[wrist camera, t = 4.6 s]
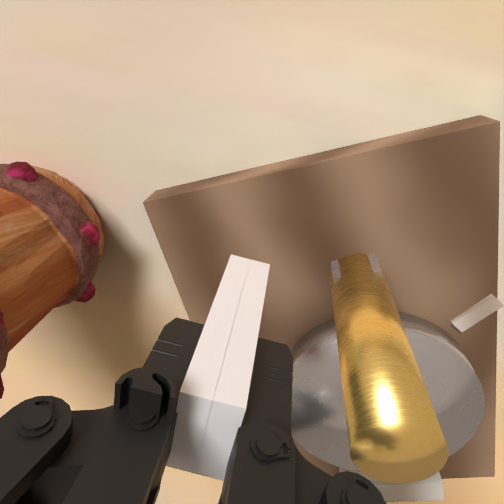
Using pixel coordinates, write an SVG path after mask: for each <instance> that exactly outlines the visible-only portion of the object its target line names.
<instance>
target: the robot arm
mask: <svg viewBox="0 0 504 504" xmlns="http://www.w3.org/2000/svg"><path fill="white" fill-rule="evenodd" d="M269 268H270V264H267V263H263V262H259V261H255V260H251V259H247V258H243V257H239V256H236V255H232V254H231V256H230V258H229V261H228V264H227V266H226V269H225V272H224V274H223V277H222V280H221V282H220V285H219V288H218V290H217V293H216V296H215V298H214V301H213V304H212V307H211V309H210V312H209V315H208V317H207V320H206V323H205V325H204V324H200V323H196V322H192V321H188V320H184V319H180V318H175V319H174V320H172V321H171V322H170V323H168V324H167V325H165V326H164V328H163V330H162V332H161V334H160V336H159V337H158V340H157V341H156V343H155V345H154V347H153V349H152V351H151V353H150V355H149V357H148V359H147V360H146V362H145V364H144V366H143V368H137V369H133V370H131V371H129V372H127V373H125V374H123V375H122V376H121V377H120V378H119V380H118V381H117V382H116V383H115V397H114V405H113V406H110V407H107V408H104V409H97V410H80V411H71V409H70V406H69V405H68V404H67V403H66V402H65V401H64V400H62V399H60V398H57V397H53V396H37V397H34V398H31V399H28V400H24V401H23V402H21V403H20V404H18V405H16V406H15V407H13V408H12V409H11V410H9V411H8V412H7V413H6V414H5V415H3V416H2V417H1V418H0V504H155V502H156V499H157V496H158V493H159V490H160V484H161V478H162V475H163V472H164V469H165V466H168V467H172V468H176V469H180V470H184V471H188V472H192V473H196V474H199V475H203V476H207V477H211V478H215V479H219V480H223V481H224V483H223V488H222V493H221V496H220V500H219V503H218V504H386V502H385V500H384V498H383V496H382V494H381V493H380V491H379V490H378V489H377V488H376V487H375V485H374V484H373V483H372V482H371V481H370V480H368V479H367V478H365V477H363V476H362V475H360V474H358V473H354V472H349V471H345V472H340V473H336V474H335V475H334V476H333V477H332V476H331V475H329V474H327V473H326V472H324V471H322V470H321V469H319V468H318V467H316V466H314V465H313V464H311V463H310V462H309V461H307V460H306V459H305V458H304V457H303V456H302V455H301V453H300V452H299V451H298V449H297V448H296V446H295V444H294V441H293V439H292V434H291V413H292V383H293V375H292V374H293V356H292V354H291V352H290V350H289V347H288V345H286V344H282V343H278V342H275V341H271V340H267V339H263V338H259V337H258V334H259V328H260V322H261V316H262V310H263V304H264V298H265V292H266V286H267V280H268V274H269ZM166 464H167V465H166Z"/></svg>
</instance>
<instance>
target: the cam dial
mask: <svg viewBox="0 0 504 504" xmlns="http://www.w3.org/2000/svg"><path fill="white" fill-rule="evenodd" d="M330 285H331V294H332V302H333V311H334V318H333V319H331V320H328V321H326V322H324V323H322V324H320V325H319V326H317V327H315V328H313V329H312V330H311V331H309V332H308V333H307V334H305V335H304V336H303V337H302V338H301V339H300V340H299V341H298V342H297V343H296V344H295V346H294V347H293V348H292V350H291V351H290V352H291V354H292V356H293V374H292V375H293V383H292V413H291V434H292V437H293V438H294V439H295V440H296V441H297V443H299V444H300V445H301V446H302V447H303V448H304V449H305V450H307V451H308V452H309V453H311V454H312V455H314V456H316V457H317V458H319V459H321V460H323V461H325V462H327V463H330V464H332V465H335V466H338V467H341V468H344V469H348V470H352V471H358V472H362V473H363V474H364V475H366V476H368V477H370V478H372V479H375V480H378V481H381V482H386V483H394V484H405V483H413V482H418V481H421V480H424V479H427V478H429V477H431V476H433V475H435V474H436V473H437V472H439V471H440V470H441V469H442V468H443V467H444V465H445V464H446V462H447V460H448V457H449V456H451V455H452V454H454V453H455V452H457V451H458V450H459V449H461V448H462V447H463V446H464V445H465V444H466V443H467V442H468V441H469V440H470V439H471V438H472V437H473V435H474V434H475V433H476V431H477V430H478V428H479V426H480V424H481V422H482V419H483V415H484V411H485V396H484V391H483V388H482V385H481V382H480V381H479V379H478V377H477V375H476V373H475V371H474V369H473V368H472V366H471V364H470V362H469V360H468V358H467V357H466V355H465V353H464V351H463V349H462V348H461V346H460V345H459V344H458V343H457V341H456V340H455V339H454V338H453V337H452V336H451V335H450V334H449V333H447V332H446V331H445V330H443V329H442V328H440V327H439V326H437V325H435V324H434V323H432V322H430V321H428V320H425V319H423V318H420V317H417V316H414V315H410V314H406V313H402V312H398V311H397V308H396V306H395V303H394V300H393V298H392V295H391V292H390V289H389V287H388V284H387V281H386V279H385V276H384V273H383V270H382V268H381V265H380V264H379V262H378V259H377V256H376V254H369V255H367V254H363V253H352V254H348V255H345V256H343V257H341V258H340V259H338V260H333V261H331V271H330Z"/></svg>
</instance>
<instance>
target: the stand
mask: <svg viewBox="0 0 504 504" xmlns="http://www.w3.org/2000/svg"><path fill="white" fill-rule="evenodd" d="M499 151H500V121H497V120H494V119H491V118H488V117H484V116H481V115H480V116H475V117H471V118H467V119H463V120H458V121H454V122H450V123H445V124H441V125H437V126H432V127H428V128H424V129H420V130H415V131H411V132H407V133H402V134H398V135H394V136H389V137H385V138H381V139H376V140H372V141H368V142H364V143H359V144H355V145H351V146H346V147H342V148H338V149H333V150H329V151H325V152H321V153H316V154H312V155H308V156H303V157H299V158H295V159H290V160H286V161H282V162H278V163H273V164H269V165H265V166H260V167H256V168H252V169H247V170H243V171H239V172H235V173H230V174H226V175H222V176H217V177H213V178H209V179H204V180H200V181H196V182H191V183H187V184H183V185H179V186H174V187H170V188H166V189H161V190H157V191H155V192H154V193H153V194H152V195H151V196H150V197H148V198H147V199H146V200H145V201H144V202H143V204H144V207H145V209H146V212H147V214H148V217H149V219H150V222H151V224H152V227H153V229H154V232H155V234H156V237H157V239H158V242H159V244H160V247H161V249H162V252H163V254H164V257H165V259H166V262H167V264H168V267H169V269H170V272H171V274H172V276H173V279H174V281H175V284H176V286H177V289H178V291H179V294H180V296H181V299H182V301H183V304H184V306H185V309H186V311H187V314H188V316H189V319H190V321H192V322H196V323H200V324H204V325H205V323H206V320H207V317H208V315H209V312H210V309H211V307H212V304H213V301H214V298H215V296H216V293H217V290H218V288H219V285H220V282H221V280H222V277H223V274H224V272H225V269H226V266H227V264H228V261H229V258H230V256H231V254H232V255H236V256H239V257H243V258H247V259H251V260H255V261H259V262H263V263H267V264H270V268H269V274H268V280H267V286H266V292H265V298H264V304H263V310H262V316H261V322H260V328H259V334H258V337H259V338H263V339H267V340H271V341H275V342H278V343H282V344H286V345H288V347H289V350H290V351H291V350H292V348H293V347H294V346H295V344H296V343H297V342H298V341H299V340H300V339H301V338H302V337H303V336H304V335H305V334H307V333H308V332H309V331H311V330H312V329H313V328H315V327H317V326H319V325H320V324H322V323H324V322H326V321H328V320H331V319H333V318H334V311H333V302H332V294H331V285H330V271H331V261H333V260H338V259H340V258H341V257H343V256H345V255H348V254H352V253H363V254H367V255H369V254H376V256H377V259H378V262H379V264H380V265H381V268H382V270H383V273H384V276H385V279H386V281H387V284H388V287H389V289H390V292H391V295H392V298H393V300H394V303H395V306H396V308H397V311H398V312H402V313H406V314H410V315H414V316H417V317H420V318H423V319H425V320H428V321H430V322H432V323H434V324H435V325H437V326H439V327H440V328H442V329H443V330H445V331H446V332H447V333H449V334H450V335H451V336H452V337H453V338H454V339H455V340H456V341H457V343H458V344H459V345H460V346H461V348H462V349H463V351H464V353H465V355H466V357H467V358H468V360H469V362H470V364H471V366H472V368H473V369H474V371H475V373H476V375H477V377H478V379H479V381H480V382H481V385H482V388H483V391H484V396H485V411H484V415H483V419H482V422H481V424H480V426H479V428H478V430H477V431H476V433H475V434H474V435H473V437H472V438H471V439H470V440H469V441H468V442H467V443H466V444H465V445H464V446H463V447H462V448H461V449H459V450H458V451H457V452H455V453H454V454H452V455H451V456H449V457H448V460H447V462H446V464H445V465H444V467H443V468H442V469H441V470H440V471H439V472H437V473H436V474H435V475H433V476H431V477H429V478H427V479H424V480H421V481H418V482H413V483H405V484H394V483H386V482H381V481H378V480H375V479H372V478H370V477H368V476H366V475H364V474H363V473H362V472H358V471H352V470H348V469H344V468H341V467H338V466H335V465H332V464H330V463H327V462H325V461H323V460H321V459H319V458H317V457H316V456H314V455H312V454H311V453H309V452H308V451H307V450H305V449H304V448H303V447H302V446H301V445H300V444H299V443H297V441H296V440H295V439H294V438H293V437H292V439H293V441H294V444H295V446H296V448H297V449H298V451H299V452H300V453H301V455H302V456H303V457H304V458H305V459H306V460H307V461H309V462H310V463H311V464H313V465H314V466H316V467H318V468H319V469H321V470H322V471H324V472H326V473H327V474H329V475H331V476H332V477H333V476H334V475H335V474H336V473H340V472H345V471H349V472H354V473H358V474H360V475H362V476H363V477H365V478H367V479H368V480H370V481H371V482H372V483H373V484H374V485H375V487H376V488H377V489H378V490H379V491H380V493H381V494H382V496H383V498H384V500H385V502H398V501H434V500H444V492H443V482H442V479H444V478H470V477H494V473H495V409H496V344H497V310H498V309H500V308H501V307H503V306H504V305H503V304H502V303H501V302H500V301H499V300H498V299H497V280H498V215H499Z"/></svg>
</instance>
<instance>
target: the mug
mask: <svg viewBox="0 0 504 504" xmlns="http://www.w3.org/2000/svg"><path fill="white" fill-rule="evenodd" d="M103 247H104V236H103V230H102V228H101V221H100V219H99V217H98V216H97V214H96V212H95V211H94V209H93V208H92V206H91V205H90V203H89V202H88V200H87V199H86V197H85V196H84V194H83V193H82V192H81V190H79V189H78V188H76V187H75V186H73V185H72V184H71V183H70V182H69V181H68V180H66V179H65V178H63V177H61V176H59V175H58V174H56V173H55V172H52V171H49V170H45V169H42V168H38V167H35V166H31V165H29V164H28V163H27V162H14V163H11V164H0V399H1V398H2V395H3V392H4V387H3V382H2V378H1V372H2V371H3V369H4V368H5V366H6V361H7V356H8V352H9V351H10V350H11V349H12V348H13V347H14V346H15V345H16V344H17V343H18V342H19V341H20V340H21V339H22V338H23V337H25V336H26V335H27V334H28V333H29V332H30V331H31V330H32V329H33V328H34V327H35V326H36V325H37V324H38V323H39V322H40V321H41V320H42V319H43V318H44V317H45V316H46V315H47V314H48V313H49V312H50V311H51V310H52V309H53V308H54V307H59V306H62V305H65V304H68V303H70V302H72V301H74V300H75V301H78V302H84V303H85V302H87V301H89V300H90V299H91V298H92V297H93V296H94V295H95V287H94V285H93V284H92V282H91V281H92V279H93V277H94V275H95V274H96V271H97V267H98V264H99V261H100V258H101V257H102V253H103Z"/></svg>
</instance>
